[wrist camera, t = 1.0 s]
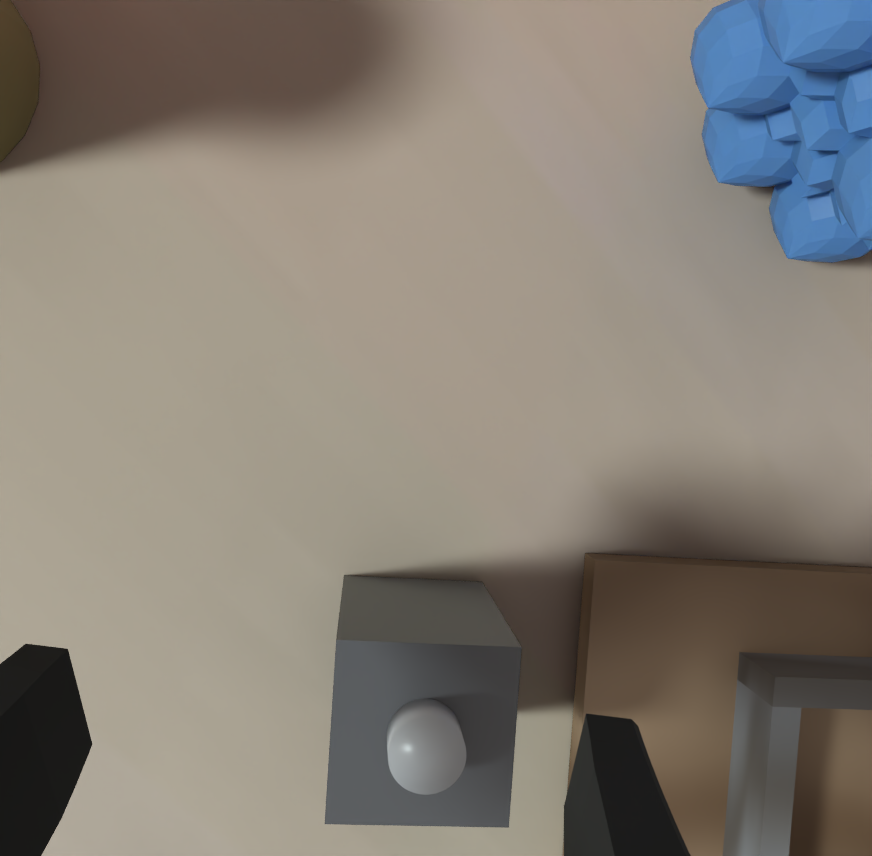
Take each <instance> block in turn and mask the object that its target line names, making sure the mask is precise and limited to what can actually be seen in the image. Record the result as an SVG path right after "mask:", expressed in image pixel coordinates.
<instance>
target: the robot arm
mask: <svg viewBox="0 0 872 856" xmlns="http://www.w3.org/2000/svg"><path fill="white" fill-rule="evenodd" d="M91 746H92V741H91V737H90V734H89V730H88V726H87V722H86V718H85V714H84V710H83V706H82V702H81V699H80V695H79V691H78V687H77V683H76V679H75V675H74V671H73V667H72V664H71V660H70V656H69V652H68V649H64V648H56V647H48V646H40V645H32V644H25V645H24V646H23V647H21V648H20V649H19V650H18V651H16V652H15V653H14V654H12V655H11V656H10V657H9V658H7V659H6V660H5V661H3V662H2V663H1V664H0V856H41V855H42V853H43V851H44V849H45V848H46V846H47V844H48V842H49V840H50V838H51V837H52V835H53V833H54V831H55V829H56V827H57V826H58V824H59V822H60V820H61V818H62V816H63V814H64V811H65V809H66V807H67V804H68V802H69V800H70V797H71V795H72V793H73V791H74V788H75V786H76V784H77V781H78V779H79V776H80V774H81V771H82V769H83V766H84V764H85V761H86V759H87V756H88V754H89V751H90V749H91ZM564 856H691V855H690V853H689V851H688V849H687V847H686V845H685V842H684V840H683V838H682V836H681V833H680V831H679V829H678V827H677V824H676V822H675V820H674V817H673V815H672V813H671V810H670V808H669V806H668V803H667V801H666V799H665V796H664V794H663V791H662V789H661V787H660V784H659V782H658V779H657V777H656V774H655V771H654V769H653V766H652V764H651V761H650V758H649V756H648V753H647V750H646V747H645V745H644V742H643V739H642V736H641V733H640V730H639V727H638V725H637V724H636V723H635V722H634V721H633V720H632V719H627V718H619V717H611V716H603V715H595V714H587V713H586V715H585V719H584V724H583V728H582V732H581V736H580V741H579V745H578V749H577V754H576V758H575V762H574V766H573V771H572V775H571V779H570V784H569V788H568V792H567V796H566V801H565V805H564Z"/></svg>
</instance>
